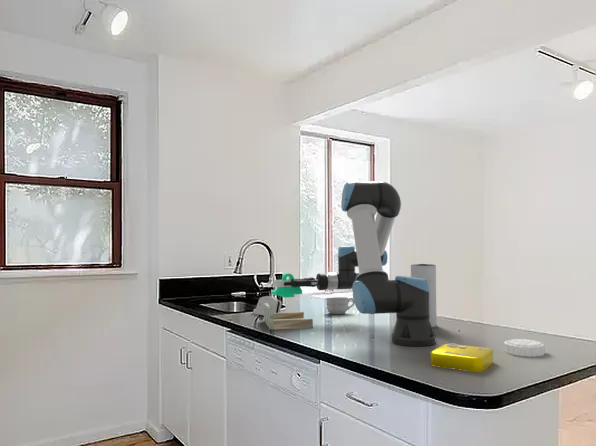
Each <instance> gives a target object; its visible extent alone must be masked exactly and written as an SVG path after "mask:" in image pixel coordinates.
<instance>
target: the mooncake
mask: <svg viewBox="0 0 596 446" xmlns="http://www.w3.org/2000/svg"><path fill="white" fill-rule="evenodd" d="M503 345H504V346H503V348H504V352H505V353H506V354H509V355H513V356H519V357H528V358H529V357H541V356H542V357H543V356H544V355H546V345H545V344H544V342H543V343H542V342H541V341H538V340H533V339H528V338H513V339H509V340H505V341H504V342H503Z"/></svg>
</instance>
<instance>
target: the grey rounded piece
mask: <svg viewBox="0 0 596 446" xmlns="http://www.w3.org/2000/svg"><path fill="white" fill-rule="evenodd" d="M265 303H267V304H268V305H269V306H270V307H271V308H272V309H273V313H281V308H282V304H283V303H282V301H280V300H279V299H278V298H277V297H274V296H269V295H266V296H264V295H263V296H262V297H259V299H258V302H257V304H256V307H255V308H254V309H253V311H252V314H254V315H259V316H264V304H265Z"/></svg>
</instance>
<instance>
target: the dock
mask: <svg viewBox="0 0 596 446" xmlns="http://www.w3.org/2000/svg"><path fill="white" fill-rule="evenodd" d="M263 318H264V320H263V321H264V323H265V324H266V326H267V327H268V329H269V330H270V331H271V330H291V329H292V330H294V329H311V328H313V329H314V327H313V326H314V324H313V323H314V319H313V318H305V313H304V311H293V312H292V311H290V312H280V313H273V309H272V308H271V307H270V306H269V305H268V304H267V303H265V304H264V317H263Z"/></svg>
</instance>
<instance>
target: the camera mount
mask: <svg viewBox="0 0 596 446" xmlns="http://www.w3.org/2000/svg"><path fill="white" fill-rule="evenodd" d="M287 278H288V279H287ZM291 279H293V281H295V279H296V278H295V277H294V275H293V274H292V273H287V272H285V273H283V275H282V276H281V279H280V280H281V281H284V280H291ZM271 294H272V295H273V296H279V297H281V298H295V295H303V290H302V288H301V287H294V286H293V287H292V286H291V287H276V289H273V290H271Z"/></svg>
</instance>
